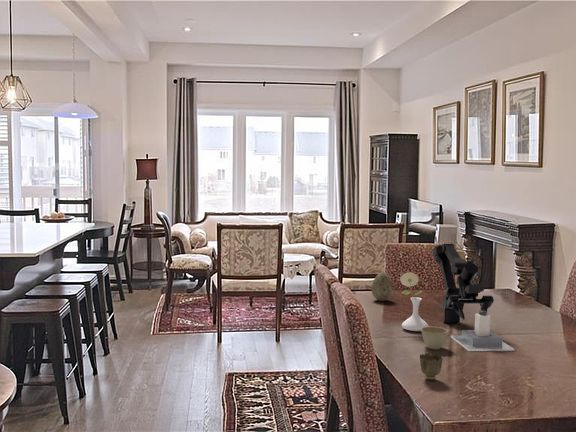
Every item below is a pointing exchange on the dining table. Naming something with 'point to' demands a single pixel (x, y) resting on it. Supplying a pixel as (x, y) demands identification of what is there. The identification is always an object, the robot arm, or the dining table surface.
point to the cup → (431, 365)
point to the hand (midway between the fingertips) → (474, 319)
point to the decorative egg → (382, 287)
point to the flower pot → (434, 337)
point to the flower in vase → (414, 321)
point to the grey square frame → (481, 342)
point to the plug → (482, 324)
